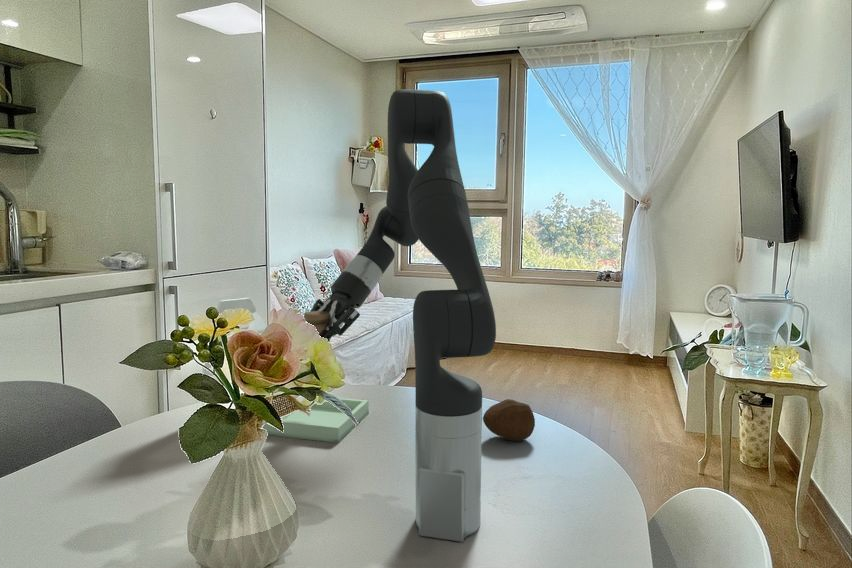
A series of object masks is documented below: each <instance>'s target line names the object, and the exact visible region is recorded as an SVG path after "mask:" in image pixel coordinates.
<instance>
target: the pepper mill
mask: <svg viewBox="0 0 852 568" xmlns="http://www.w3.org/2000/svg"><path fill="white" fill-rule="evenodd" d="M310 311H311V310H310ZM310 311H307V312H304V313H303V319H304V318H305V319H306V321H307V322H308V323H310V324H312V325H314V326H315V327H316V329H317V331H318V332H319V334H320V333H321V332H322V331H323V330H325V326H326V324H327V323H328V316H329V312H326V311H311V312H310ZM330 340H331V339H330ZM330 340H329V342H330V343H331V341H330Z"/></svg>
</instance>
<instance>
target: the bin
mask: <svg viewBox="0 0 852 568" xmlns="http://www.w3.org/2000/svg"><path fill="white" fill-rule="evenodd" d="M338 398H339V399H340V400H341V401H342V402H343V403H345V404H346V405H347V406H348V407H349V408H350V409H351V412H352V414H353V416H354V417H355V419H356V420H357V422H360V421H361V422H362V421H363V420H364V419H366V417H367V416H368V415H369V414H370V413H369V412H370V410H369V406H370V405H369V404H370V403H369V400H368V399H367V400H366V399H358V398H357V399H355V398H347V397H346V398H345V397H338ZM310 411H311V416H310V417H308V416H307V415H305V414H303V413H301V412H295V413H292V414H291V415H288V416H289V417H288V416H285V417H283V420H282V422H283V425H284V433H282V432H281V431H279V430H277V429H276V428H274V427H272V426H270V425H268V424H265V425H264V426H263V430H264V429H266V430H267V432H268V436H275V437H284V438H293V439H301V440H302V439H303V440H309V441H319V442H327V443H335V444H339V443H341V441H343V440H344V439H345V438H346V436H348V435H349V434H350V432H352V431H353V430H354V429H355V428H356V427H355V424H354V423H353V422H352V420H351V419H350V418H349V417H347V416H346V415H345V414H343V413H342V412H341V411H340V410H338V409H337V408H336V407H334V406H333V405H332V404H330V403H329V402H324V403H323V404H322V405H317V404H314V405H313V406H312V407H311V410H310ZM284 418H285V419H284ZM361 422H360V423H361ZM354 427H355V428H354ZM353 428H354V429H353ZM351 430H352V431H351Z"/></svg>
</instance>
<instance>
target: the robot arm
mask: <svg viewBox="0 0 852 568" xmlns="http://www.w3.org/2000/svg"><path fill="white" fill-rule="evenodd" d="M452 112H453V111H452V107H451V103H450V100H449V98H448V96H447V94H445V92H443V91H439V90H433V89H432V90H431V89H430V90H429V89H411V88H410V89H407V88H406V89H404V88H403V89H396V90H394V92H392V93H391V96H390V99H389V102H388V109H387V162H388V164H387V165H388V184H387V192H386V193H387V194H386V199H385V201H386V202H385V203H386V205H385V206H384V207H382V208H381V209H380V211H379V212H378V214H377V216H376V219H375V222H374V225H373V227H372V229H371V232H370V235H369V237H368V238H367V240H366V242H365V244H364V245H363V247H362V248H360V249H359V251H358V253H357V254H356V255H355V256H354V257H353V259H352V260H350V262H349V263H347V265H346V266H345V268H344V269H343V270H342V272H341V273H339V275H338V277H337V278H336V279H335V281H334V282H333V283H332V284H331V286H330V289H331V295H330V296H329V297H328V298H327V299H326V300H324V301H323V300H322V299H321V298H318V299H317V300H315V302H314V304H313V306H312V308H311V309H310V311H309V312H311V311H326V312H329V316H328V323H327V324H326V326H325V330H323V331H322V332H321V333H320V334H319V335H320V336H321V337H324V338H327V339H328V341H329V340H331V339H332V337H336V336H337V335H338V336H342V335H344V333H345V332H346V331H347V330H348V329H349V328H350V327H351V326H352V325H353V324H354V322H356V321H357V319H358V318H359V317H360V316H361V314H360V312H359V311H358V309H359V308H361V307H362V305H363V304H364V303H365V301H366V300H367V298H368V297H369V296H370V295H371V293H372V292H373V290H374V289H375V287H376V286H377V285H378V283H379V281H380V280H381V277H382V276H383V274H384V273H385V271H387V269H388V268H389V267H390V265H391V263H392V262H393V260H394V259H395V256H396V255H395V251H394V249H393V247H392V246H391V245H390V244H389V243H388V242H387V241H386V240H385V239H384V237H386V238H387V239H388V238H389V239H390V240H391V241H394V242H395V243H397V244H398V245H400V246H403V247H412V246H413V245H415V244H417V242H418V241H420V243H421V244H422V245H423V246H424V247H425V248H426V249H427V250H428V252H430V253H431V254H432V255H433V256H434V258H436V259H437V260H438V261H439V262H440V264H441V265H443V266H444V268H445V269H446V270H447V271H448V273H449V275H450V276H451V278H452V280H453V281H454V284H455V285H456V289H431V290H428V289H427V290H422V291H420V292H419V293H418V294H417V295H416V297H415V298H414V302H413V307H412V308H413V309H412V331H413V345H414V367H415V369H414V372H415V375H414V377H415V378H414V379H415V380H414V382H415V386H414V387H415V400H414V401H415V426H414V427H415V430H414V431H415V445H414V446H415V451H414V453H415V457H414V458H415V460H414V461H415V524H416V526H417V528H418V535H419V536H422V537H429V538H435V539H442V540H447V541H455V542H461V543H463V542H464V540H465V539H466V537H469V536H471V535H472V534H474V533H475V532H477V531H478V530H479V528H480V526H481V516H482V515H481V511H482V509H481V508H482V507H481V505H482V503H481V502H482V495H481V494H482V493H481V491H482V490H481V489H482V486H481V485H482V432H483V431H482V428H483V427H482V426H483V425H482V424H483V390H482V387H481V385H480V384H479V383H478V382H476V381H475V380H473V379H472V378H469V377H466V376H462V375H459V374H458V373H457V374H456V373H454V372H450V371H449V370H447V369H445V368H444V367H442V366H441V363H440V362H441V361H440V360H441V359H451V358H453V359H454V358H472V357H475V358H476V357H482V356H486V355H488V354H489V353H491V352H492V350H493V349H494V346H495V344H496V338H497V325H496V318H495V317H496V316H495V313H494V312H495V310H494V307H493V303H492V300H491V296H490V292H489V289H488V286H487V283H486V279H485V276H484V273H483V269H482V265H481V261H480V260H479V255H478V252H477V248H476V243H475V238H474V232H473V226H472V222H471V221H472V220H471V215H470V208H469V204H468V200H467V199H468V198H467V194H466V189H465V186H464V182H463V177H462V174H461V169H460V165H459V160H458V153H457V148H456V138H455V130H454V122H453V113H452ZM405 144H409V145H411V144H412V145H413V144H415V145H432V146H433V148H432V150H431V152H430V154H429V156H428V157H427V158H426V160H425V161H424V162H423V164H422V165H421V166H420V167H419V168H418V167H417V166H416V164H415V163H414V162H413V160H412V159H411V157H410V155H409V154H408V153H407V150H406V147H405Z"/></svg>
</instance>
